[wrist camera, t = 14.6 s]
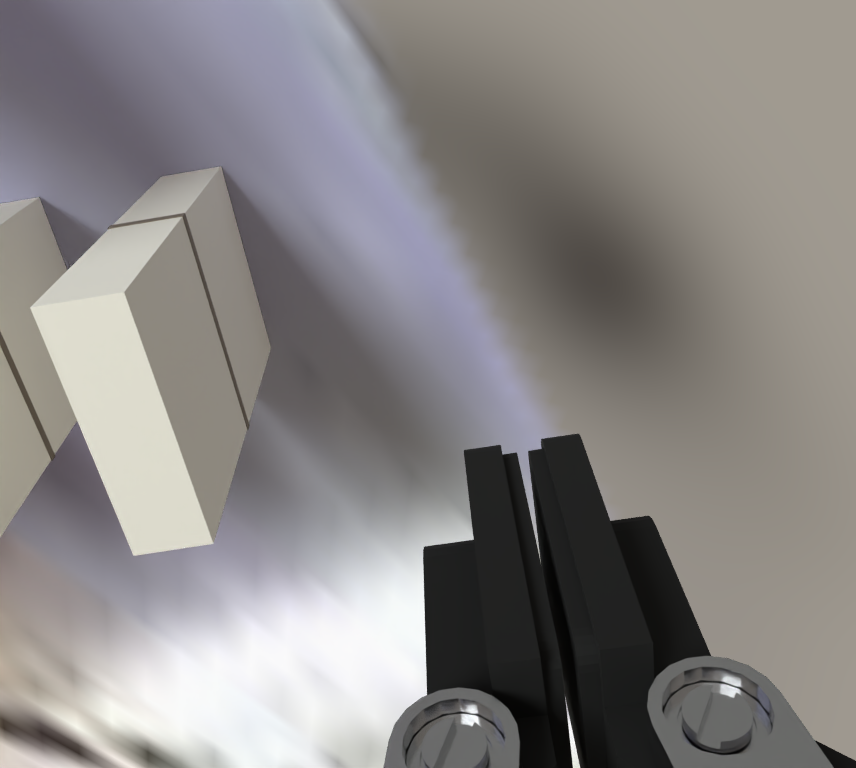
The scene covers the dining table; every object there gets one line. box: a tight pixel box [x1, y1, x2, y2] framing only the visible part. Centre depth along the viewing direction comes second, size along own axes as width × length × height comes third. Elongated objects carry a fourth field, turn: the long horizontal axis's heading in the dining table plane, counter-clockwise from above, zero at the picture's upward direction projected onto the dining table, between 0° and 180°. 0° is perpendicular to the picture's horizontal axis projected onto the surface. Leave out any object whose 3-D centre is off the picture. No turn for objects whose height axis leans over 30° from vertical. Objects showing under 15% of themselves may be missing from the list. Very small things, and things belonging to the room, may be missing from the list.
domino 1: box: [30, 166, 271, 556], centre depth 21 cm, size 2×6×10 cm, turn 9°
